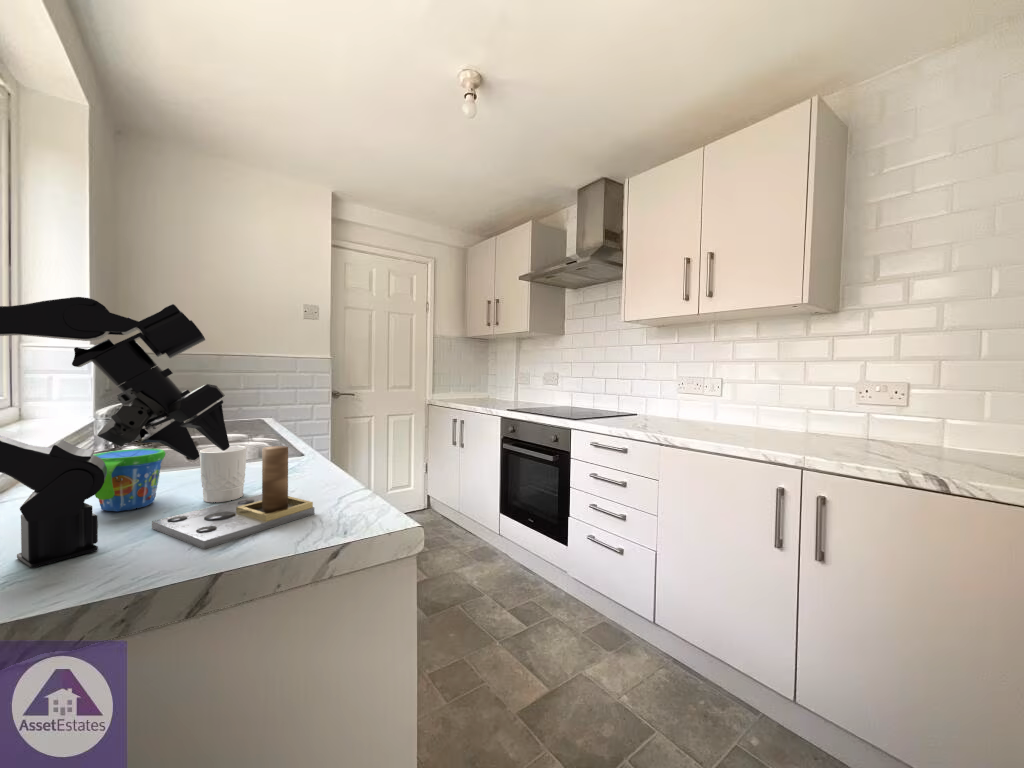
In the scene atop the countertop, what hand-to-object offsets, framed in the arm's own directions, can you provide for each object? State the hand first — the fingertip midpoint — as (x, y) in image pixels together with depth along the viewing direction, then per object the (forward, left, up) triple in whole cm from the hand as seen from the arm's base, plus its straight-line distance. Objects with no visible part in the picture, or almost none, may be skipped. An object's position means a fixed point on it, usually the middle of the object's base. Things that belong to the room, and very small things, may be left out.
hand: (211, 453), depth 70 cm
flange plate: (+4, -1, -12) cm, 13 cm away
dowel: (+8, -4, -11) cm, 14 cm away
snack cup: (-2, +24, -12) cm, 27 cm away
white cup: (+10, +15, -12) cm, 22 cm away
